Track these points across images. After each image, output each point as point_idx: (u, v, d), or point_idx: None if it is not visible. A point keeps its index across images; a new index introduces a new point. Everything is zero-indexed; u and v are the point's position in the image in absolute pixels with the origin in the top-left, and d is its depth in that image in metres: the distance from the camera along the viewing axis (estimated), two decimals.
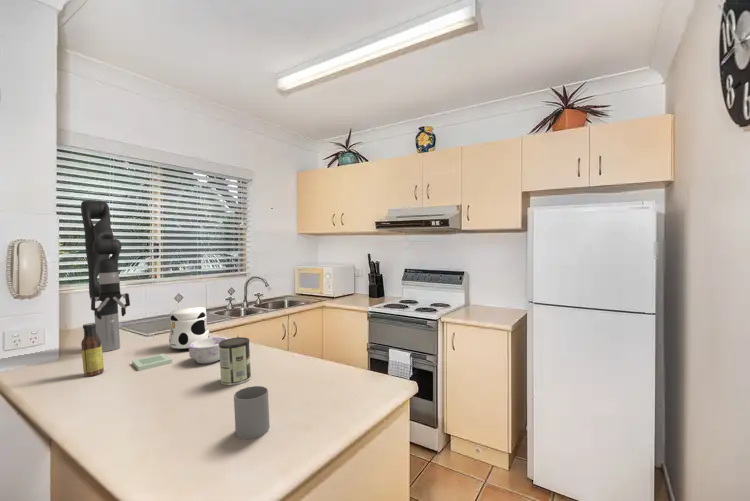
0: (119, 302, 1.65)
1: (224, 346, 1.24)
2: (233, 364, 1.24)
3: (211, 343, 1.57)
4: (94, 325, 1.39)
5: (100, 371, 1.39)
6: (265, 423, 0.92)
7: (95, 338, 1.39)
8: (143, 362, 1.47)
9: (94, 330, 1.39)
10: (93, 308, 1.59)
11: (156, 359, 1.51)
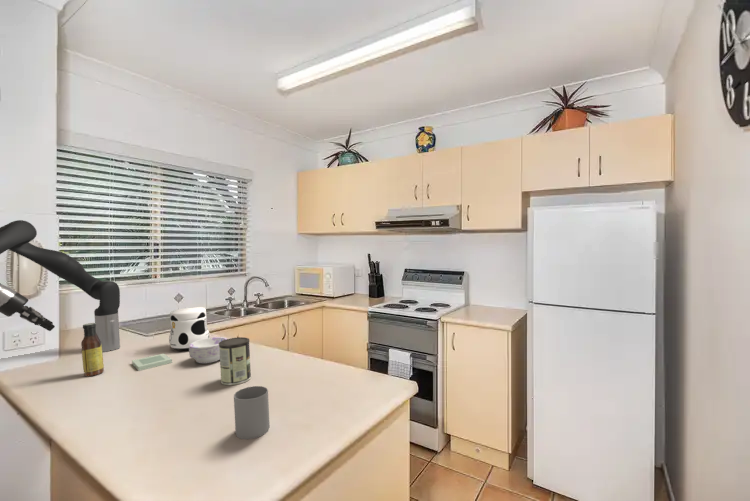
0: (37, 311, 1.31)
1: (224, 346, 1.24)
2: (233, 364, 1.24)
3: (211, 343, 1.57)
4: (94, 325, 1.39)
5: (100, 371, 1.39)
6: (265, 423, 0.92)
7: (95, 338, 1.39)
8: (143, 362, 1.47)
9: (94, 330, 1.39)
10: (41, 318, 1.24)
11: (156, 359, 1.51)
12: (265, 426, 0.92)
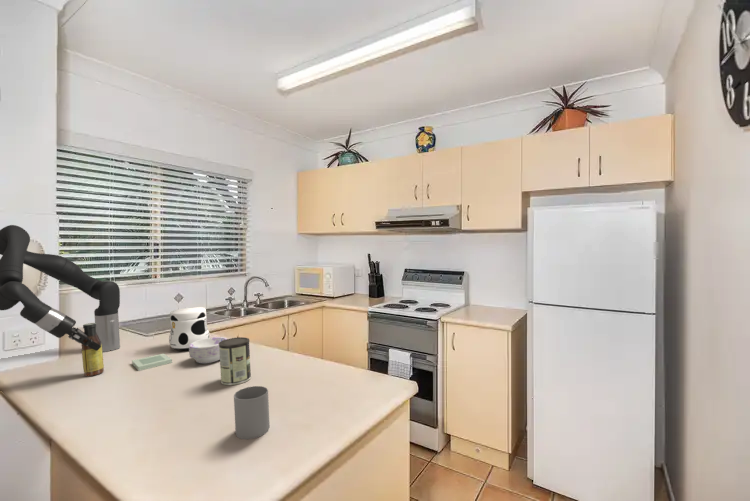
0: None
1: (224, 346, 1.24)
2: (233, 364, 1.24)
3: (211, 343, 1.57)
4: (94, 325, 1.39)
5: (100, 371, 1.39)
6: (265, 423, 0.92)
7: (95, 338, 1.39)
8: (143, 362, 1.47)
9: (94, 330, 1.39)
10: (89, 339, 1.35)
11: (156, 359, 1.51)
12: (265, 426, 0.92)
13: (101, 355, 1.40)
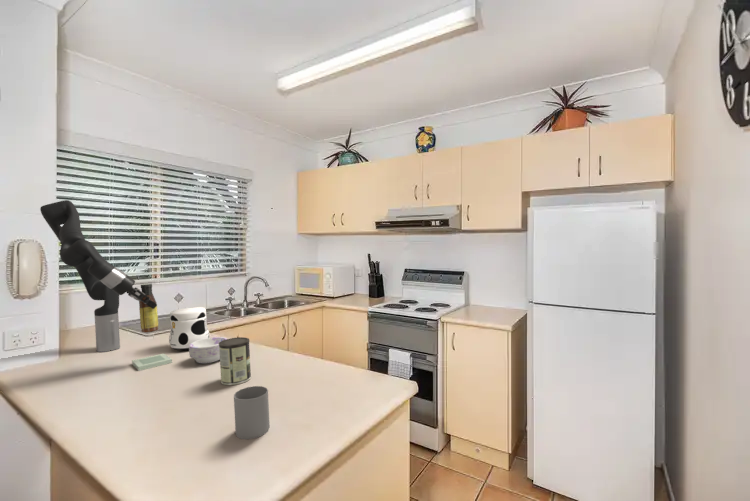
0: None
1: (224, 346, 1.24)
2: (233, 364, 1.24)
3: (211, 343, 1.57)
4: (151, 285, 1.49)
5: (156, 328, 1.49)
6: (265, 423, 0.92)
7: (152, 297, 1.49)
8: (143, 362, 1.47)
9: (150, 290, 1.49)
10: (148, 297, 1.44)
11: (156, 359, 1.51)
12: (265, 426, 0.92)
13: (156, 314, 1.50)
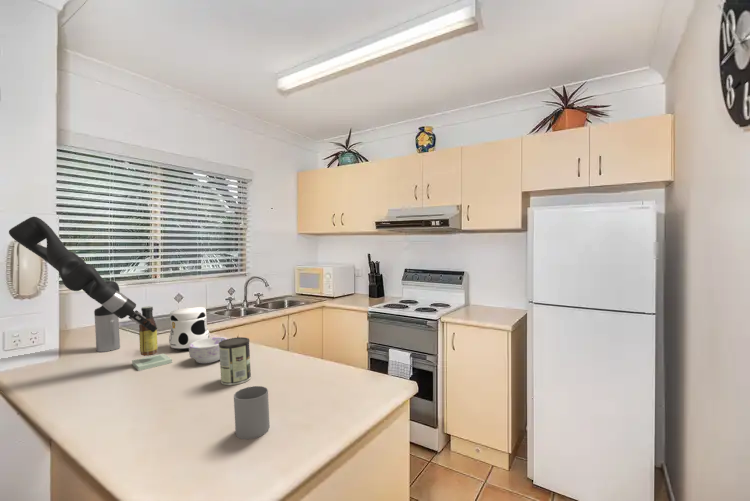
0: None
1: (224, 346, 1.24)
2: (233, 364, 1.24)
3: (211, 343, 1.57)
4: (151, 308, 1.49)
5: (155, 351, 1.50)
6: (265, 423, 0.92)
7: (152, 320, 1.49)
8: (143, 362, 1.47)
9: (151, 313, 1.50)
10: (148, 321, 1.45)
11: (156, 359, 1.51)
12: (265, 426, 0.92)
13: (156, 337, 1.50)
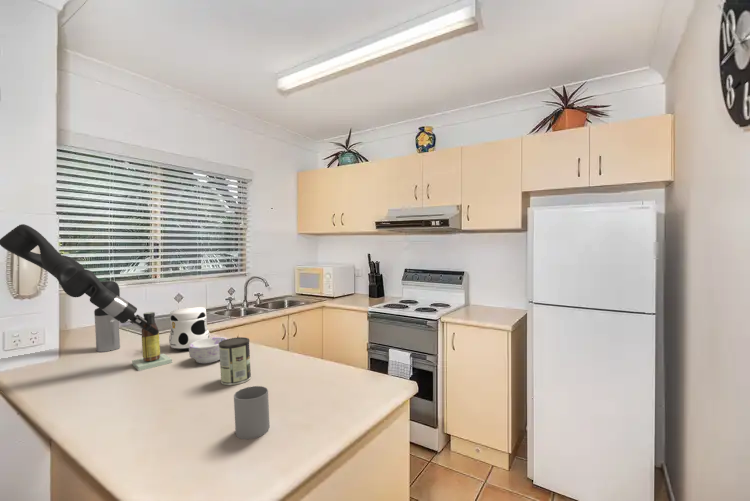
0: None
1: (224, 346, 1.24)
2: (233, 364, 1.24)
3: (211, 343, 1.57)
4: (153, 314, 1.49)
5: (157, 357, 1.50)
6: (265, 423, 0.92)
7: (154, 326, 1.49)
8: (143, 362, 1.47)
9: (153, 319, 1.50)
10: (149, 324, 1.44)
11: None
12: (265, 426, 0.92)
13: (158, 342, 1.50)
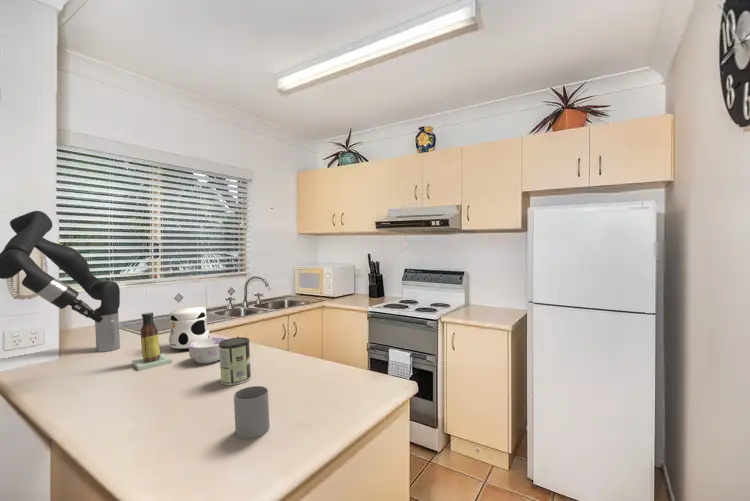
0: None
1: (224, 346, 1.24)
2: (233, 364, 1.24)
3: (211, 343, 1.57)
4: (152, 314, 1.49)
5: (157, 357, 1.50)
6: (265, 423, 0.92)
7: (153, 326, 1.49)
8: (143, 362, 1.47)
9: (152, 319, 1.49)
10: (91, 310, 1.31)
11: None
12: (265, 426, 0.92)
13: (158, 342, 1.50)
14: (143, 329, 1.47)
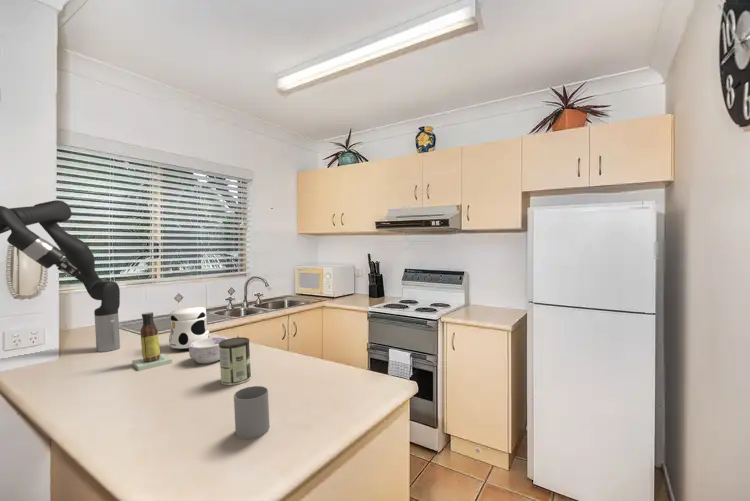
0: None
1: (224, 346, 1.24)
2: (233, 364, 1.24)
3: (211, 343, 1.57)
4: (152, 314, 1.49)
5: (157, 357, 1.49)
6: (265, 423, 0.92)
7: (153, 326, 1.49)
8: (143, 362, 1.47)
9: (152, 319, 1.49)
10: (77, 270, 1.31)
11: None
12: (265, 426, 0.92)
13: (158, 342, 1.50)
14: (143, 329, 1.47)
